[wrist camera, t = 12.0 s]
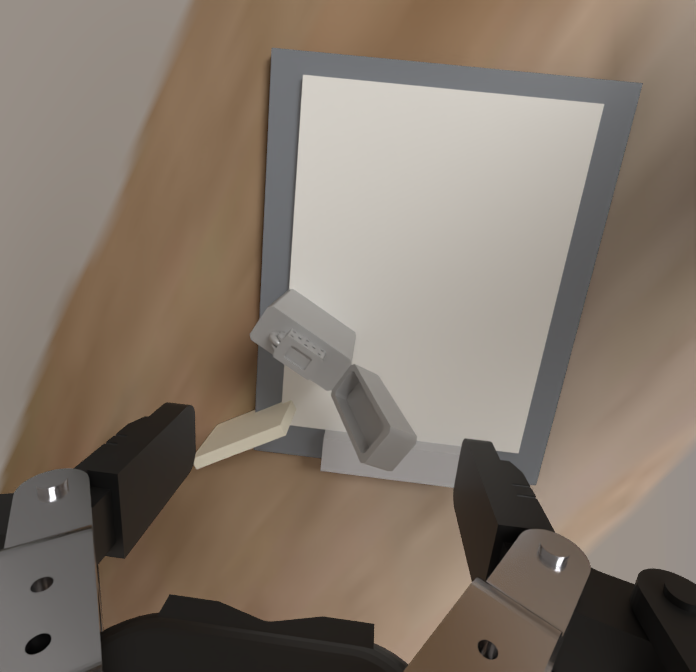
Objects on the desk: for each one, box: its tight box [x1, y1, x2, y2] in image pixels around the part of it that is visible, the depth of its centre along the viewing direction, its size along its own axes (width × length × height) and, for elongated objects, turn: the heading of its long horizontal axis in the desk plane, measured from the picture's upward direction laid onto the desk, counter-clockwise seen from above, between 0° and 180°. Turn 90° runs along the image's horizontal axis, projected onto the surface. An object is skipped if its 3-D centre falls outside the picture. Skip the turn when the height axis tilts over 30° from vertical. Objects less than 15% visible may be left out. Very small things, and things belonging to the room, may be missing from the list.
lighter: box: [250, 289, 417, 471], centre depth 18 cm, size 7×2×8 cm, turn 55°
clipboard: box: [254, 48, 643, 488], centre depth 20 cm, size 16×20×2 cm
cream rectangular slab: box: [194, 400, 296, 469], centre depth 22 cm, size 5×1×4 cm, turn 114°
